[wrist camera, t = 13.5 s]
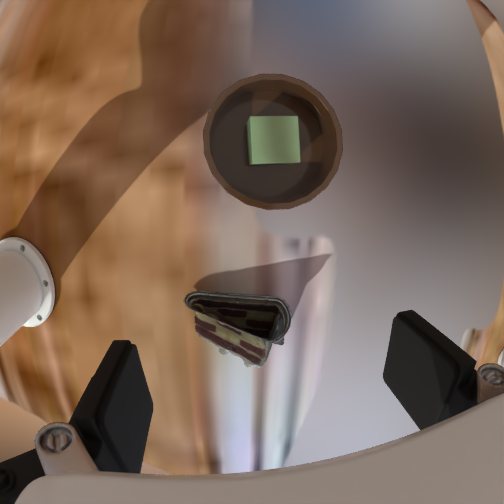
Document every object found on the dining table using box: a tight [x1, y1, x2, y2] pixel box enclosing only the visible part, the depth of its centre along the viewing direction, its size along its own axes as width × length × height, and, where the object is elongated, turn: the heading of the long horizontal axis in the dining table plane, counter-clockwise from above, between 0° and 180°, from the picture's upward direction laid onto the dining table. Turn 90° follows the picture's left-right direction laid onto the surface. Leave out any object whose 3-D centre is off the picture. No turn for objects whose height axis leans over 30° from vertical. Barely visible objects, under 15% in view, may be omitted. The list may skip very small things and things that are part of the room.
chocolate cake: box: [184, 291, 292, 368], centre depth 35 cm, size 10×7×12 cm
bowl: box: [203, 74, 343, 210], centre depth 29 cm, size 13×13×5 cm
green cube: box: [246, 116, 300, 165], centre depth 28 cm, size 4×4×4 cm
